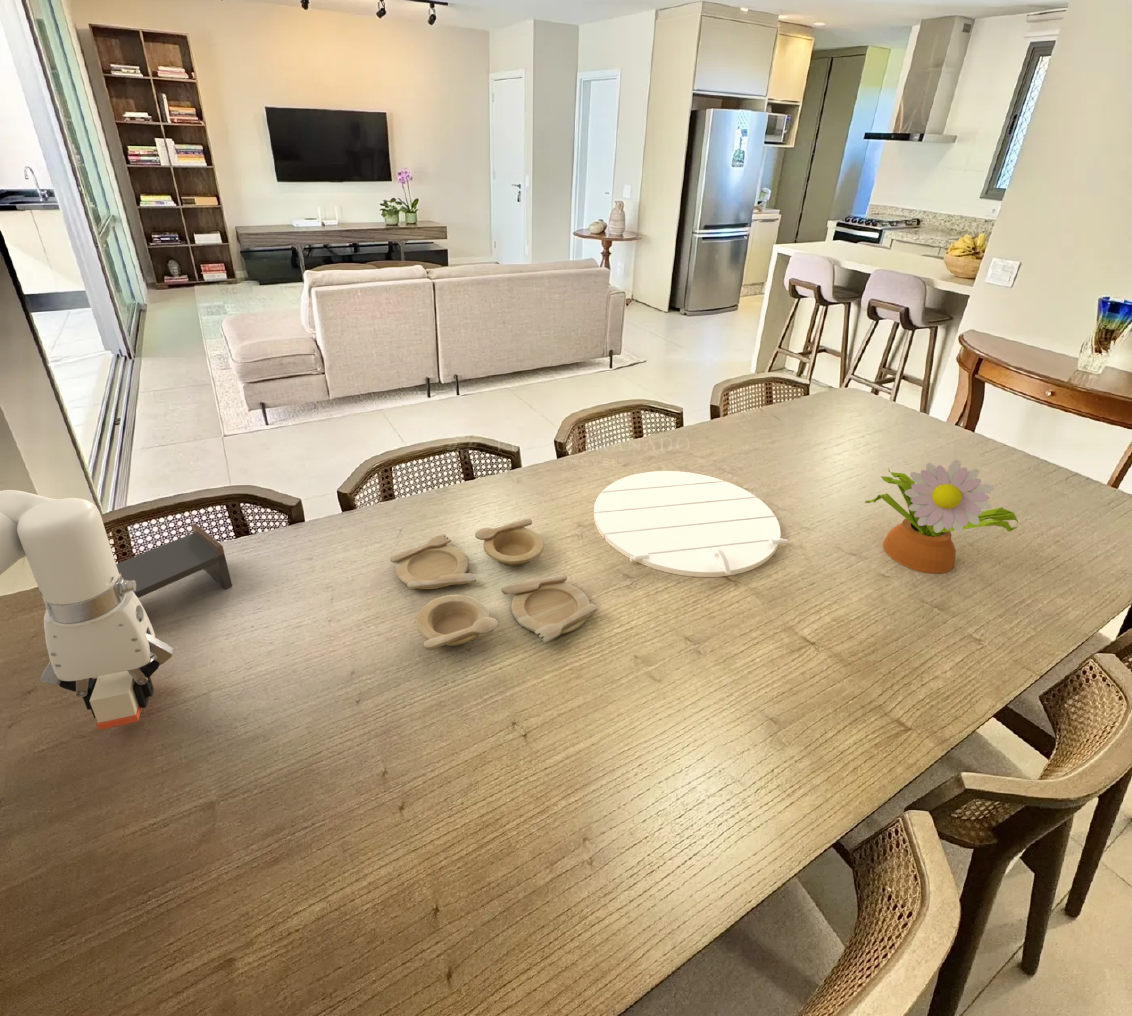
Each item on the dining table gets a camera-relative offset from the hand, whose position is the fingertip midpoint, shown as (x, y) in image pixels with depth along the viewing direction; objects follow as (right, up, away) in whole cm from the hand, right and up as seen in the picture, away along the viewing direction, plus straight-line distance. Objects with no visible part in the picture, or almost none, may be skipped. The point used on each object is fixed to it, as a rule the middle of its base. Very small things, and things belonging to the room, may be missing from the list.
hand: (123, 703), depth 84 cm
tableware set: (+45, +8, +28) cm, 54 cm away
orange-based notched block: (-1, 0, +2) cm, 2 cm away
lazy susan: (+85, +18, +51) cm, 101 cm away
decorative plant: (+132, +12, +44) cm, 139 cm away
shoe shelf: (-8, +9, +24) cm, 27 cm away
